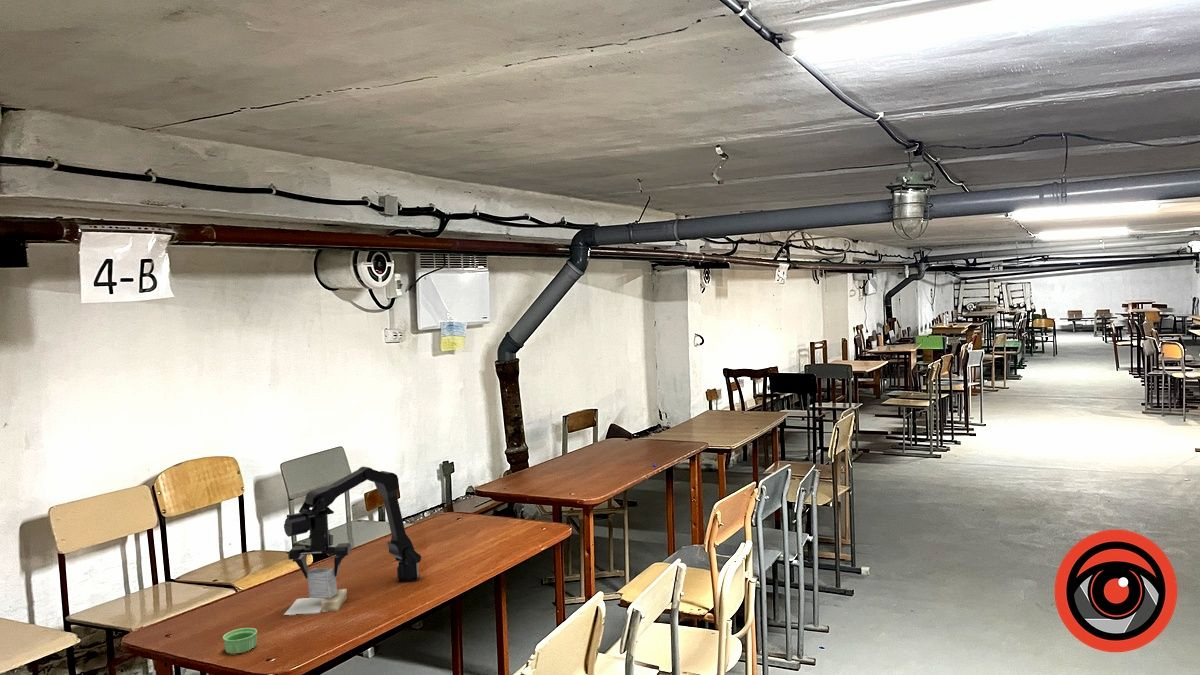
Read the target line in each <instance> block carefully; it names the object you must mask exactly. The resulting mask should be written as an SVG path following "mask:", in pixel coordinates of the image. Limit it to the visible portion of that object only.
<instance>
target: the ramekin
mask: <svg viewBox="0 0 1200 675" xmlns="http://www.w3.org/2000/svg"><path fill="white" fill-rule="evenodd" d="M257 635H258V630H257V628H254V627H242V628H237V629H233V630H231V631H230V630H229V631H228V632H226V633H225V634H224V635H223V636H222V640H223V643H224V644H223V645H224V649H225V650H224V651H225V652H226V653H227V654H228V653H231V654H230V655H233V654H232V653H241V652H245V651H248V650H250V649H252V648H254V647H255V646H257ZM255 648H256V647H255ZM255 648H254V649H255ZM252 650H253V649H252ZM248 652H249V651H248ZM245 653H246V652H245Z"/></svg>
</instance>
